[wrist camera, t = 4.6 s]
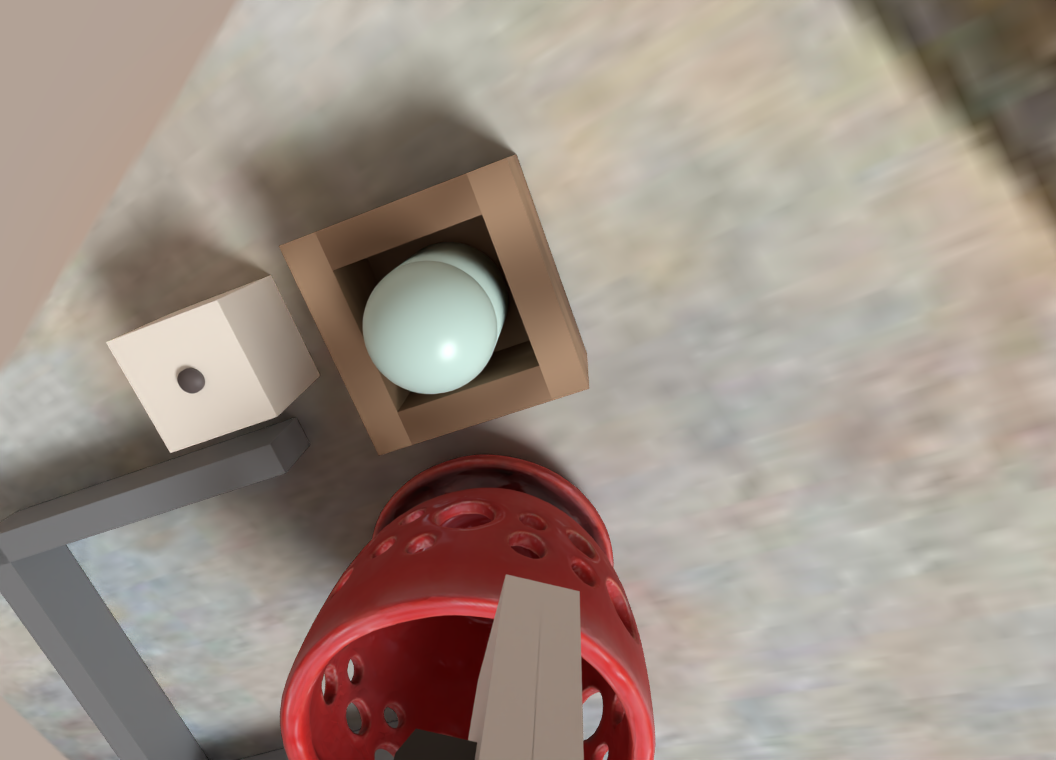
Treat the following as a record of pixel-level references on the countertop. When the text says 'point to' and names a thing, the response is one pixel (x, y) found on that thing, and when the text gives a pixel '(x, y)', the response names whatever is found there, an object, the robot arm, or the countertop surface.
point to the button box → (394, 236)
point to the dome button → (436, 318)
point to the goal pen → (81, 615)
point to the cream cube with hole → (217, 364)
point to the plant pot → (462, 613)
